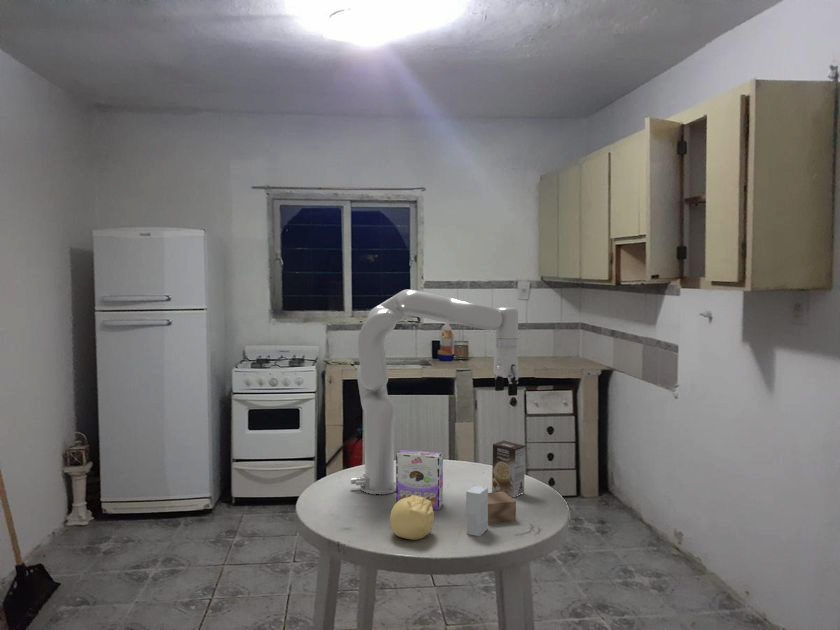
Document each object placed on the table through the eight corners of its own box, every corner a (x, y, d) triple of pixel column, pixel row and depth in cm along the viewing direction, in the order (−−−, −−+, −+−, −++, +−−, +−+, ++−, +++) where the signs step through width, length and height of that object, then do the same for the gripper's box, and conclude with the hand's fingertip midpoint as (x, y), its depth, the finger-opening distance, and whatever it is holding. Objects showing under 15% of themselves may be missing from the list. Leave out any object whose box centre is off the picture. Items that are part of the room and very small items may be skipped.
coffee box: (490, 491, 214) (491, 443, 213) (502, 487, 218) (502, 440, 217) (514, 498, 207) (514, 448, 206) (525, 493, 212) (526, 445, 211)
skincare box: (474, 526, 184) (474, 484, 183) (488, 529, 182) (488, 487, 181) (465, 534, 179) (465, 491, 178) (479, 537, 177) (480, 493, 176)
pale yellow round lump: (430, 545, 171) (430, 505, 170) (385, 542, 173) (386, 502, 172) (437, 529, 182) (437, 491, 182) (395, 525, 184) (395, 488, 184)
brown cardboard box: (486, 524, 186) (486, 504, 186) (475, 513, 195) (475, 494, 194) (515, 521, 188) (515, 501, 188) (503, 510, 197) (503, 491, 197)
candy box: (443, 504, 202) (444, 451, 201) (439, 510, 196) (439, 457, 195) (401, 499, 206) (401, 448, 205) (395, 506, 200) (395, 453, 199)
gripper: (485, 341, 229) (485, 389, 230) (508, 346, 213) (507, 398, 214) (504, 340, 232) (504, 388, 233) (528, 345, 216) (527, 396, 217)
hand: (505, 392), depth 224 cm, fingers open, 9 cm apart
